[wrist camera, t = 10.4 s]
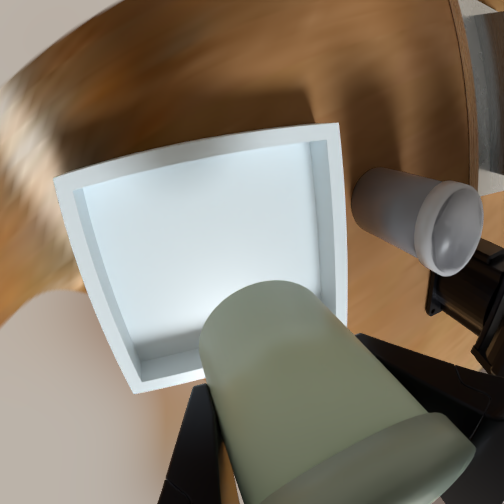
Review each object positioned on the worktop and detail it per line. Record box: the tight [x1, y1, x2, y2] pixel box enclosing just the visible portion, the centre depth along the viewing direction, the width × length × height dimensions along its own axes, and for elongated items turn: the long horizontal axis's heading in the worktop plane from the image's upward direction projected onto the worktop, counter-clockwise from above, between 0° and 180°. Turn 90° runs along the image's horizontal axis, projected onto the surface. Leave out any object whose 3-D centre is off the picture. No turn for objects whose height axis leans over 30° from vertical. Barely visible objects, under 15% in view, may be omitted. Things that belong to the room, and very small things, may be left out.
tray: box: [53, 123, 347, 394], centre depth 17 cm, size 13×14×2 cm
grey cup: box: [351, 167, 483, 276], centre depth 17 cm, size 5×5×7 cm
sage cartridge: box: [199, 280, 476, 504], centre depth 7 cm, size 5×5×7 cm
